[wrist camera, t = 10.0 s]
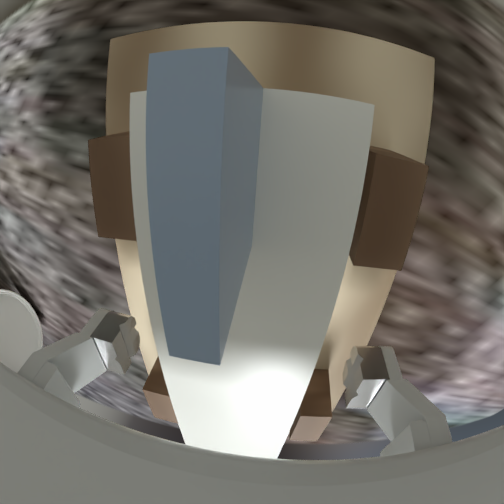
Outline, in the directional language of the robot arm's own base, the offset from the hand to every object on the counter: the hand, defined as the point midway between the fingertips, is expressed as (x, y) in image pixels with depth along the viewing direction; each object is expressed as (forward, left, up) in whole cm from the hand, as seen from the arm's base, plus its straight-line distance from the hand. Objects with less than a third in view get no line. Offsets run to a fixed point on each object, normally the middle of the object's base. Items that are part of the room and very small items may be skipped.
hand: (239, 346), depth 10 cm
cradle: (0, 0, -4) cm, 4 cm away
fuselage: (0, +1, -3) cm, 3 cm away
